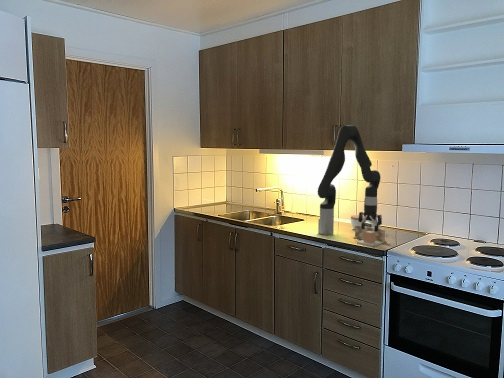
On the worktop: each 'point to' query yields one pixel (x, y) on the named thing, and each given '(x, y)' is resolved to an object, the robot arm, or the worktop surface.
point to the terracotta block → (369, 236)
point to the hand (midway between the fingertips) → (369, 230)
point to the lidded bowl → (356, 220)
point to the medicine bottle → (371, 224)
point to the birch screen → (369, 230)
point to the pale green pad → (369, 243)
